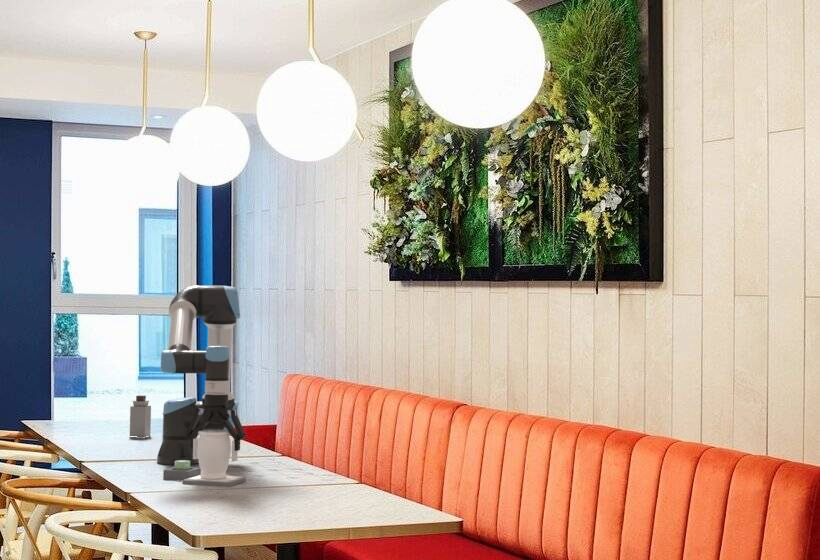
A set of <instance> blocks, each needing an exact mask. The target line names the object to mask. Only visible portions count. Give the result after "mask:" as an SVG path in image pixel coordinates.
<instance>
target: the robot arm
mask: <svg viewBox="0 0 820 560" xmlns="http://www.w3.org/2000/svg"><path fill="white" fill-rule="evenodd" d="M238 292H239V291H238V289H237V288H236V287H234V286H230V285H229V286H228V285H190V286H188V287H185V288H184V289H183V288H182V290H180V291H179V292H178V293H177V294H175V296H174V297H173V298H172V300H171V302H170V304H169V307H168V315H169V318H170V325H169V327H170V328H169V336H168V337H169V338H168V348H167V350H164V349H163V350H162V351H161V353H160V371H161V372H162V373H164V374H165V373H166V374H173V375H174V374H205V379H204V394H203V395H202V397H201V401H200V400H199V401H198V400H197V398H196V396H195V397H194V396H191V397H189V396H188V397H181V398H180V397H179V398H174V399H169V400H166V401H165V402H164V404H163V410H162V411H163V412H162V415H163V417H162V419H163V420H162V422H163V423H162V441H161V445H160V446H159V447H160V448H159V449H158V450H159V451H158V453H157V457H156V462H157V464H160V465H172V466H173V465H174V466H175V461H178V460H188V461H190V465H194V464H199V459H198V442H199V438H200V437H198V436H200V435H199V434H198V431H201V430H228V432H229V433H230V434H231V435H230V436H231V437H232V439H233V440H232V441H231V462H232V463H233V462H237V461H238V451H240V450H241V440H244V439H246V438H247V435H246V432H245V430H244V428H243V425H242V423H241V421H240V418H239V415H238V408H239V402H238V401H237V400H235V395H234V394H233V393H232V392H231V381H232V380H231V377H232V374H231V373H232V338H233V337H232V335H233V327H234V326H235V325H236V324H237V320H239V319H241V309H240V302H239V301H240V300H239V293H238ZM197 318H199V319H201V318H202V319H203V324H204V325H205V326H206V327H207V347H206V348H205V350H192V340H193V327H194V326H193V325H194V320H195V319H197Z"/></svg>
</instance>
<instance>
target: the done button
mask: <svg viewBox="0 0 820 560" xmlns="http://www.w3.org/2000/svg"><path fill="white" fill-rule="evenodd" d="M174 467H175V470H185V471H187V470H190V467H191V464H190V461H188V460H178V461H175V465H174Z"/></svg>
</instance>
